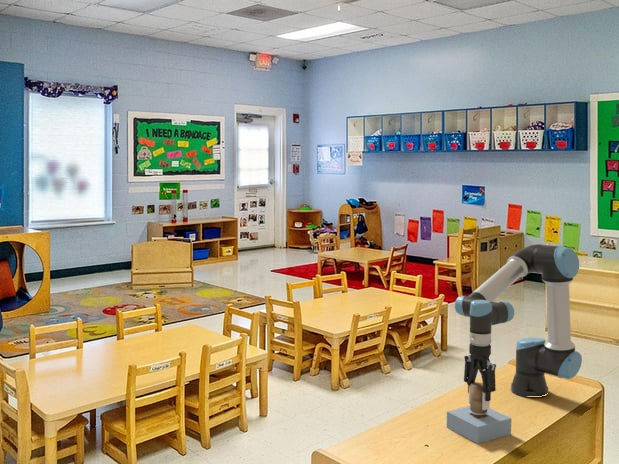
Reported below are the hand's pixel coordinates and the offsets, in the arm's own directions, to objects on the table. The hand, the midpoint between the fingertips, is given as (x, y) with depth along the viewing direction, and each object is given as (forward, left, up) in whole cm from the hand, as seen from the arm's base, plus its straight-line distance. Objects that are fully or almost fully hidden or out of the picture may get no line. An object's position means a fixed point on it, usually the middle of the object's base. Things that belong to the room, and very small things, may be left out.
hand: (478, 405), depth 224 cm
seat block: (0, 0, -9) cm, 9 cm away
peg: (0, 0, -7) cm, 7 cm away
